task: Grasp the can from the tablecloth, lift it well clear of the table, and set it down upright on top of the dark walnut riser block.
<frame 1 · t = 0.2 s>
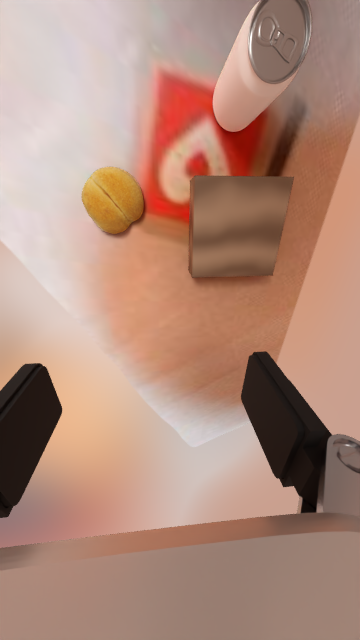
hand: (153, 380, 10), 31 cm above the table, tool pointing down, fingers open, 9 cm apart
can: (234, 103, 28), on the table
bread roll: (115, 202, 33), on the table
walnut riser: (228, 229, 36), on the table
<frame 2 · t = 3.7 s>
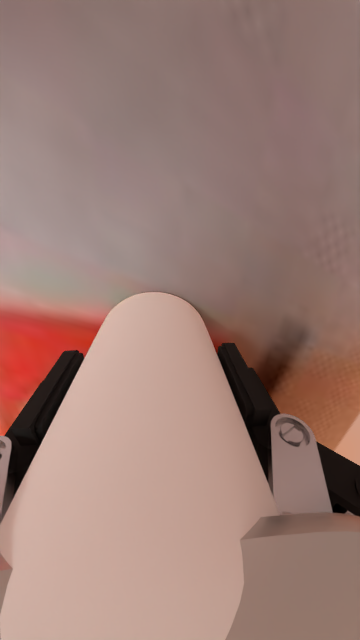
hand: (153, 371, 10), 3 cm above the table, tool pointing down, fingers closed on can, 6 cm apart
can: (155, 335, 13), on the table, touching gripper
when the fingers open (10 cm above the table, at t = 9.9 s): can drops 2 cm, resting on walnut riser.
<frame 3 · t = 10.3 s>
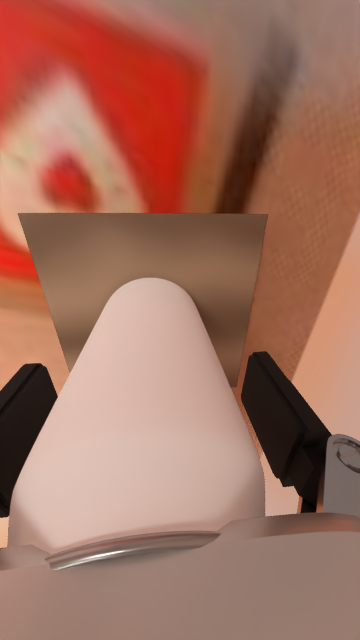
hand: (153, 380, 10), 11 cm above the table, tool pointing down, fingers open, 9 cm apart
can: (152, 318, 15), point 5 cm above the table, touching walnut riser
walnut riser: (156, 297, 19), on the table
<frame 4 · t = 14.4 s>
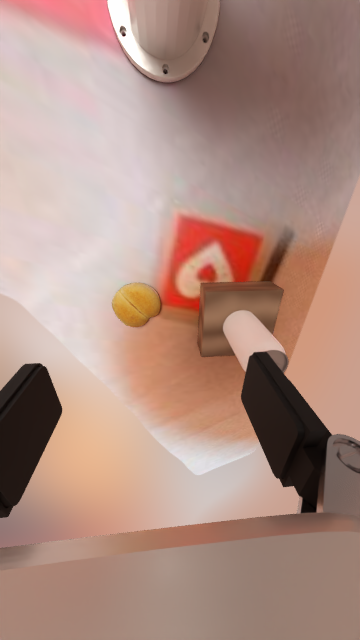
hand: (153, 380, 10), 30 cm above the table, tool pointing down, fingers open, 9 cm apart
can: (238, 324, 39), point 5 cm above the table, touching walnut riser
bread roll: (137, 302, 41), on the table
walnut riser: (231, 314, 43), on the table
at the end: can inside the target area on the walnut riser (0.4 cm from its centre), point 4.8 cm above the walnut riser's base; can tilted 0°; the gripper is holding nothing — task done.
